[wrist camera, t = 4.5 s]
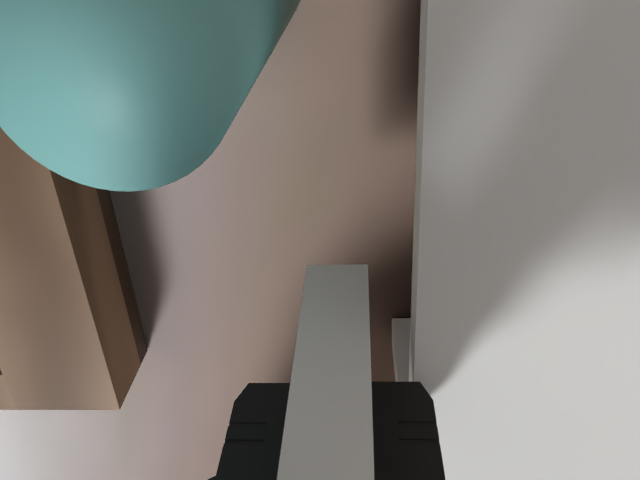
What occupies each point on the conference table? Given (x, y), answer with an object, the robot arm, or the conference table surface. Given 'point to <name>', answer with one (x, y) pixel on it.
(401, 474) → the robot arm
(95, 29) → the peg
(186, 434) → the conference table surface
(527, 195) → the cover
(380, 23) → the conference table surface
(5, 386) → the board
